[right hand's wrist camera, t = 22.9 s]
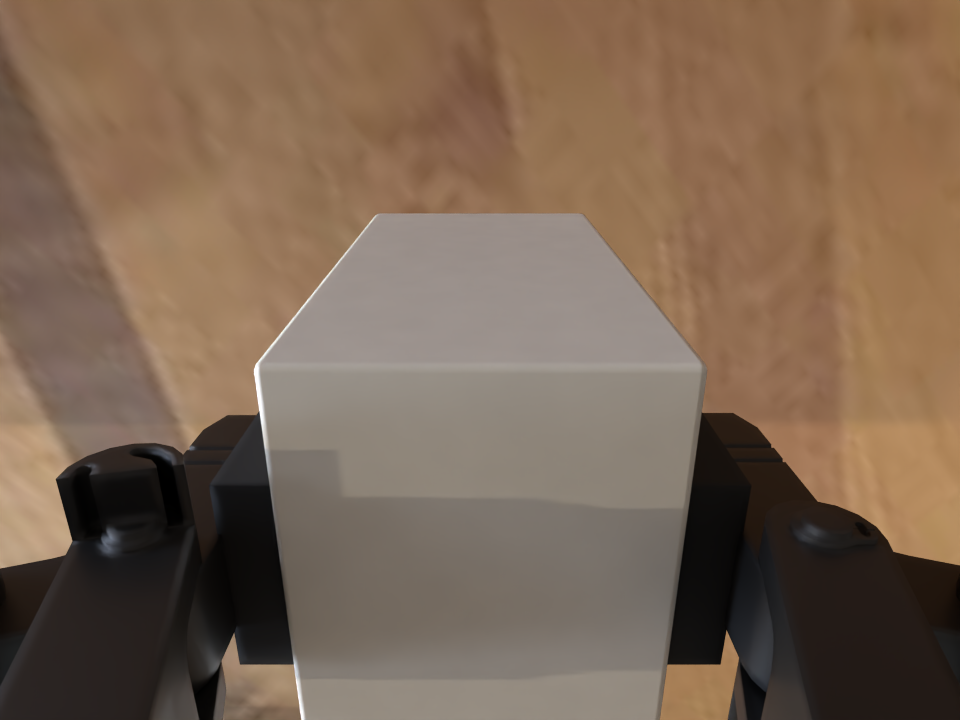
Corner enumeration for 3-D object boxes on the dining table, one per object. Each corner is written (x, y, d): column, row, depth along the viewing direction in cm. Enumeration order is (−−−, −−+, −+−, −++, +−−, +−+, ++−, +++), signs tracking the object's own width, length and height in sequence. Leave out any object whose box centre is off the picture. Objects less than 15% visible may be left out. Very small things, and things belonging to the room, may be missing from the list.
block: (388, 446, 18) (306, 774, 9) (375, 212, 15) (250, 364, 7) (571, 447, 18) (654, 773, 9) (585, 213, 15) (711, 364, 7)
